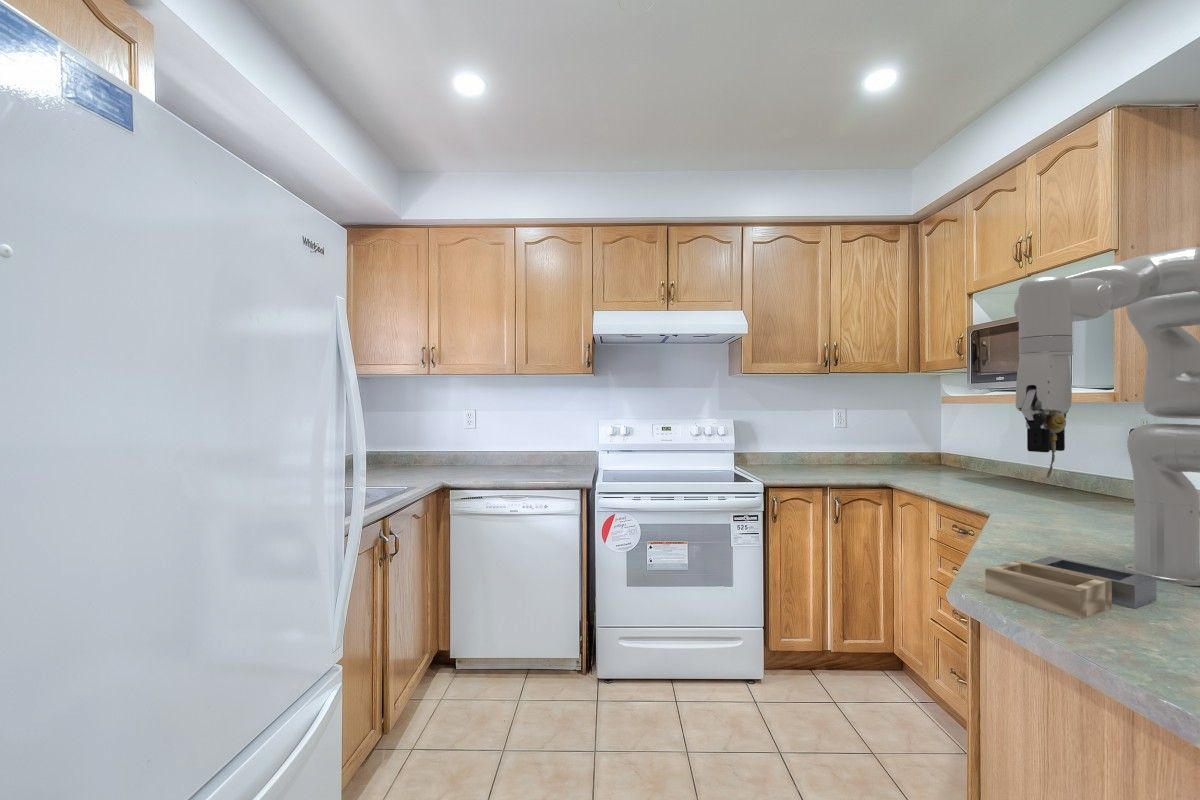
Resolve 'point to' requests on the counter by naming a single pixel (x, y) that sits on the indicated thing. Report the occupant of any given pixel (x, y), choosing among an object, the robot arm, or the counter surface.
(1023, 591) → the socket
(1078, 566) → the gray rectangular tray
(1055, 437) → the regulator
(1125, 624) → the counter surface
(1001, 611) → the counter surface
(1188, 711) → the counter surface
